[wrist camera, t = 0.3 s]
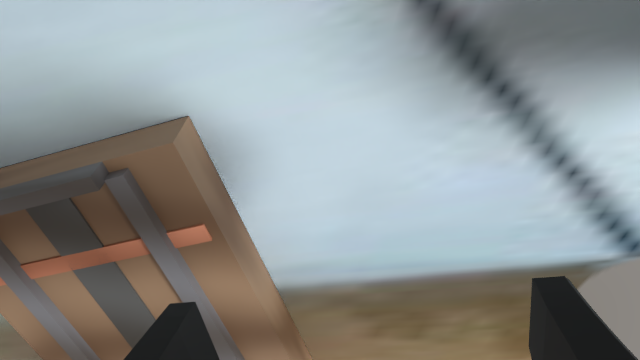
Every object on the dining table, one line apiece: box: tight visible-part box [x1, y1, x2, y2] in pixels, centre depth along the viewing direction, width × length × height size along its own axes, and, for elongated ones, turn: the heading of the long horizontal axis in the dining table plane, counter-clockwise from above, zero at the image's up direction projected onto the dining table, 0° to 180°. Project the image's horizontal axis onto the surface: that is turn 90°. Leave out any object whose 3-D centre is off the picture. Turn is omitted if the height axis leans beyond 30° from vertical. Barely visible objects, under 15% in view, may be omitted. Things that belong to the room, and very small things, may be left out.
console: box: [0, 116, 313, 360], centre depth 26 cm, size 20×12×3 cm, turn 18°
